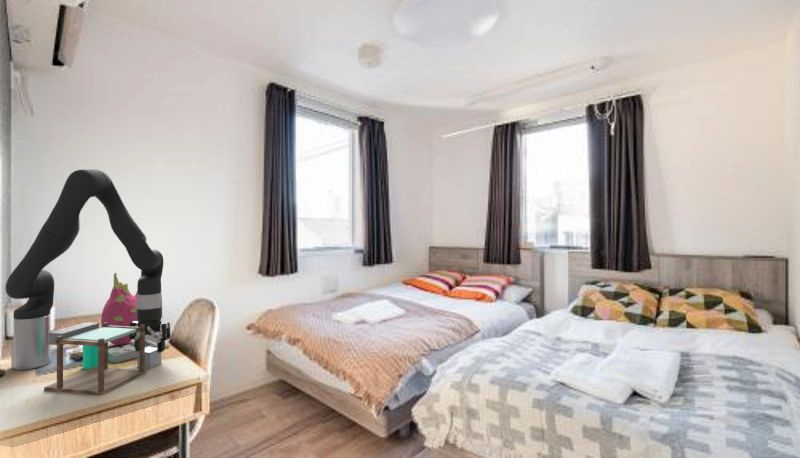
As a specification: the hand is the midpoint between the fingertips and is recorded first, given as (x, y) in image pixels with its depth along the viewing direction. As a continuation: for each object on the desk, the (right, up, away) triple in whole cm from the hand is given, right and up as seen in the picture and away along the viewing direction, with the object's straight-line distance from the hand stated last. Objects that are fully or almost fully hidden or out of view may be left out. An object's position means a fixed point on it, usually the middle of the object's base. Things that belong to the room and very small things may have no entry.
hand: (149, 351), depth 132 cm
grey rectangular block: (0, -5, 0) cm, 5 cm away
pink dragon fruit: (-25, -4, +20) cm, 33 cm away
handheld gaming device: (-13, -5, +9) cm, 17 cm away
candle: (-19, -5, -1) cm, 19 cm away
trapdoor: (-8, +8, -14) cm, 18 cm away
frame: (-7, -5, -14) cm, 16 cm away
